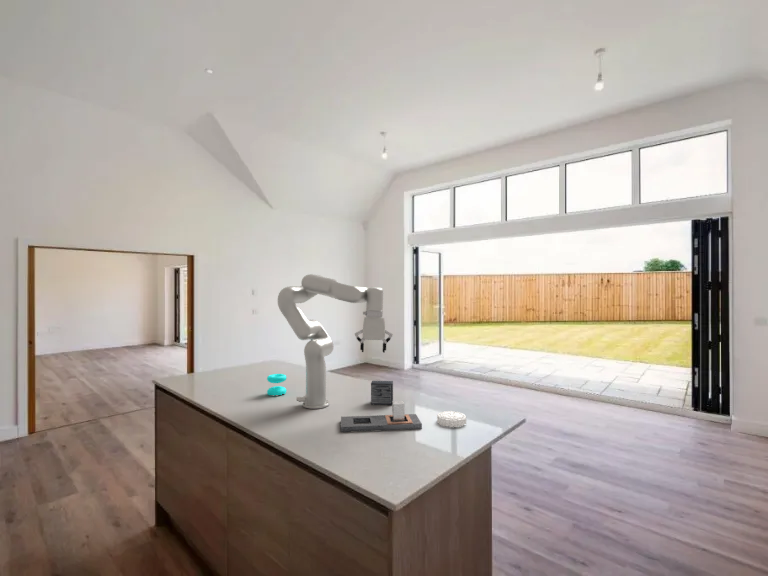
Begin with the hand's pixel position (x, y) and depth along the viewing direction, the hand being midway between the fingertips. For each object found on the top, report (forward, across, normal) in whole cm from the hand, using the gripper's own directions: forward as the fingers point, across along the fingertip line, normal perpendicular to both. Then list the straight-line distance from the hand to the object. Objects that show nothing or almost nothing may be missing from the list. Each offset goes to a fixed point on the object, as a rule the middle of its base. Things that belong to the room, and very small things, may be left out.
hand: (373, 351), depth 173 cm
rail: (+27, +3, -18) cm, 33 cm away
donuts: (+29, -48, +32) cm, 65 cm away
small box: (+27, +6, +12) cm, 30 cm away
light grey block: (+27, +10, -18) cm, 34 cm away
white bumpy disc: (+26, +33, -18) cm, 46 cm away
